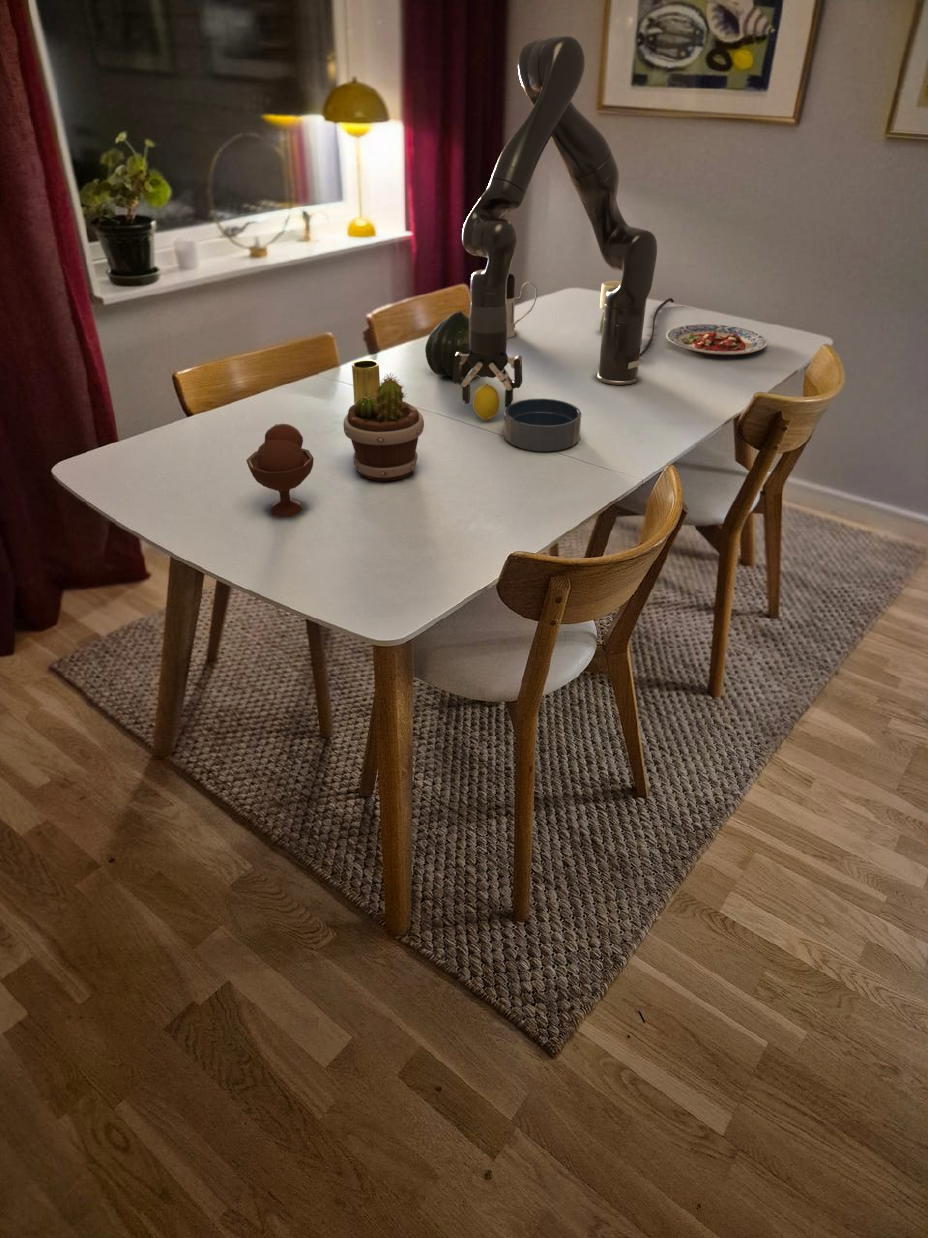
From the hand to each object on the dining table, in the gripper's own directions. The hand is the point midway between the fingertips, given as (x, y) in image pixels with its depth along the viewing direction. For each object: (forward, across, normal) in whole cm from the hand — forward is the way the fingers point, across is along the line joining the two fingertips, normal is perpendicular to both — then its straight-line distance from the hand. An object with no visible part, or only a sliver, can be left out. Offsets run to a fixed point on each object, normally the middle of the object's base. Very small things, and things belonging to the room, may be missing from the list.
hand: (487, 404), depth 177 cm
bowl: (+4, -13, +7) cm, 15 cm away
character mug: (+4, -20, -70) cm, 73 cm away
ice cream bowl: (+3, +25, +48) cm, 54 cm away
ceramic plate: (+4, -48, -65) cm, 81 cm away
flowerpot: (+4, +13, +29) cm, 32 cm away
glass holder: (+4, +7, -63) cm, 63 cm away
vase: (+4, +22, +12) cm, 26 cm away
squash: (+4, +13, -27) cm, 30 cm away
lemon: (+4, 0, 0) cm, 4 cm away
